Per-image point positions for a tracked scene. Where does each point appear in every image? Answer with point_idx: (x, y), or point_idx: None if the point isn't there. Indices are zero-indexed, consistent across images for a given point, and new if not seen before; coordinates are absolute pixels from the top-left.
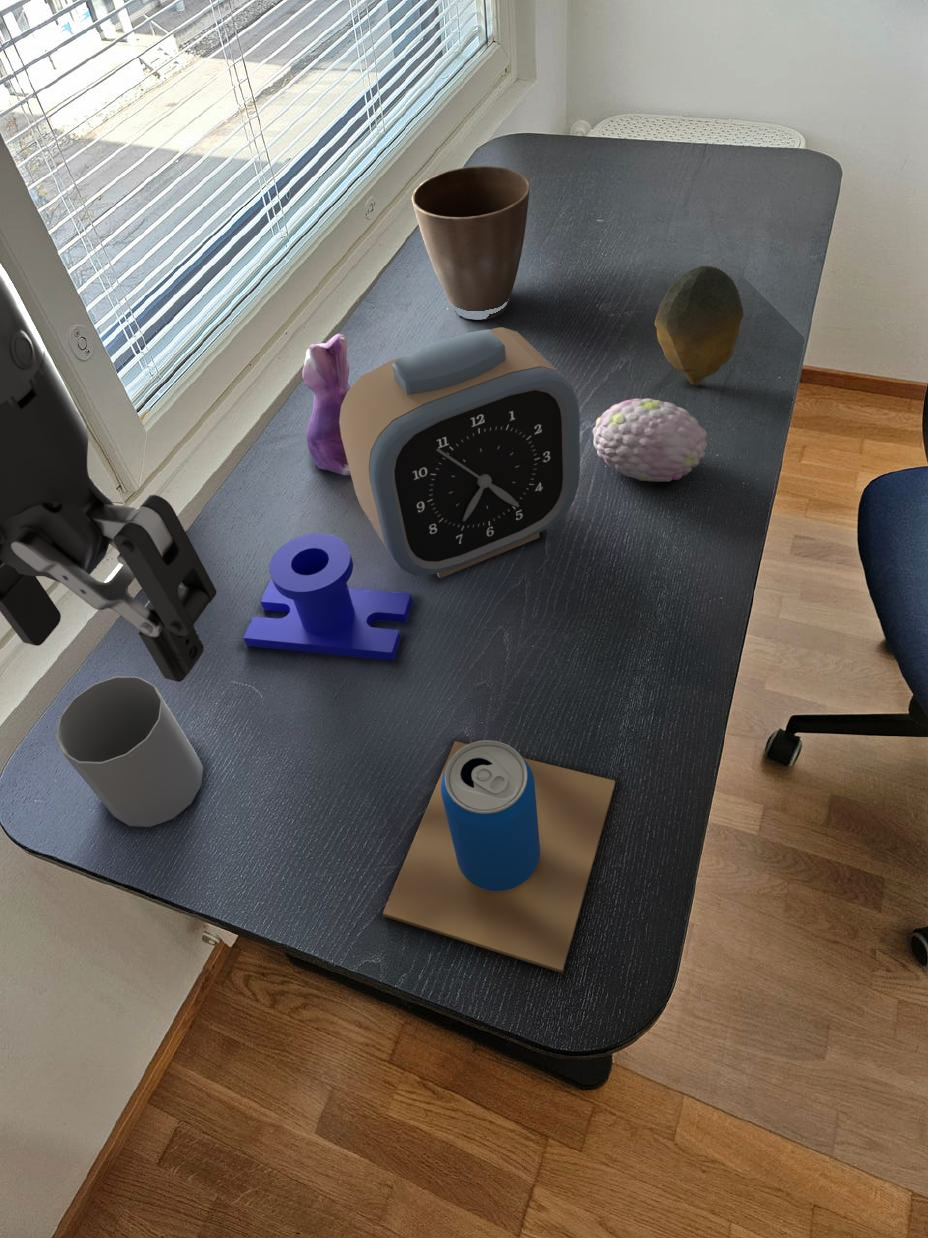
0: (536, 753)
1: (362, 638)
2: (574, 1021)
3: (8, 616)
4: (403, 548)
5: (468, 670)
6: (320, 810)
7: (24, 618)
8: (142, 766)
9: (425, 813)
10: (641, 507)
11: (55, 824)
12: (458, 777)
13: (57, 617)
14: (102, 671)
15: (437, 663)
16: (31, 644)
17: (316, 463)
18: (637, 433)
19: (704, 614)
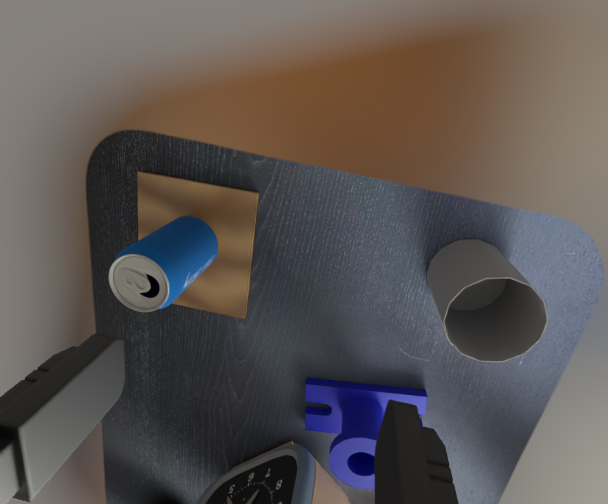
0: (193, 312)
1: (330, 395)
2: (126, 142)
3: (411, 473)
4: (298, 469)
5: (253, 370)
6: (326, 263)
7: (391, 462)
8: (454, 280)
9: (249, 266)
10: (173, 484)
11: (546, 234)
12: (159, 281)
13: (376, 453)
14: (550, 368)
15: (275, 375)
16: (400, 402)
17: None
18: None
19: (119, 408)
